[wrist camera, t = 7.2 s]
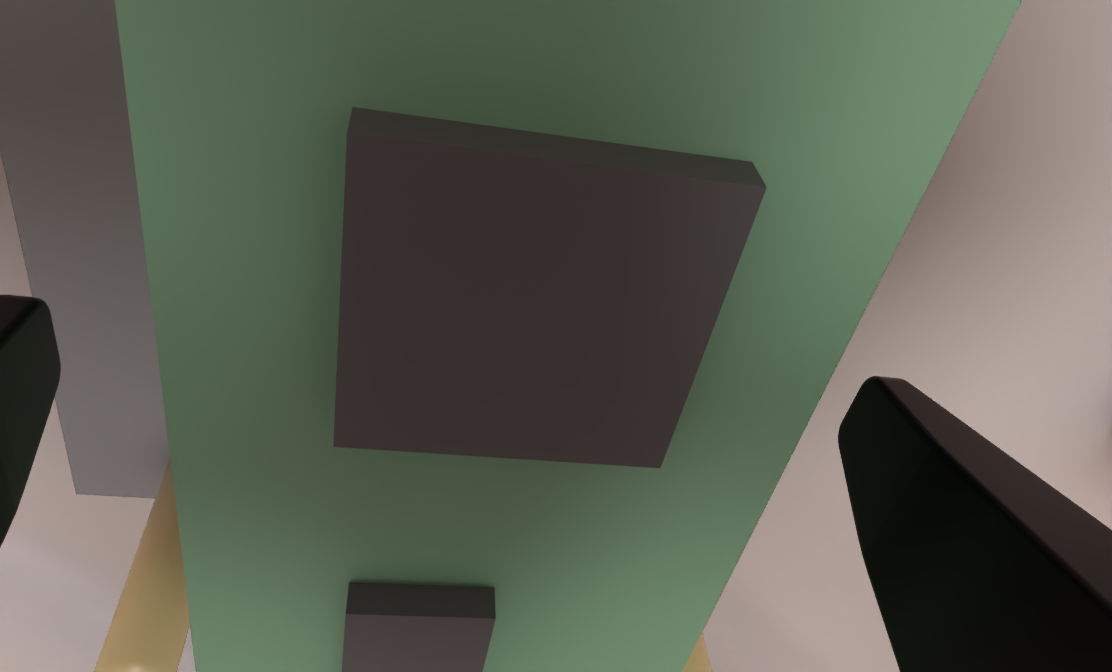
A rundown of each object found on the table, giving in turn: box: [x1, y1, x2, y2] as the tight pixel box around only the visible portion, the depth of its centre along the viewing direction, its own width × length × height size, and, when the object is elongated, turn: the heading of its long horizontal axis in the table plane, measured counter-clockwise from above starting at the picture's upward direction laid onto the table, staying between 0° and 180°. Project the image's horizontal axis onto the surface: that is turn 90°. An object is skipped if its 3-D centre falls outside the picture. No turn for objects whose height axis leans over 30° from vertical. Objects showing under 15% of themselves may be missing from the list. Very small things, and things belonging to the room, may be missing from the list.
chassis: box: [0, 0, 712, 672], centre depth 12 cm, size 17×14×6 cm
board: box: [115, 0, 1022, 672], centre depth 10 cm, size 12×6×4 cm, turn 169°
